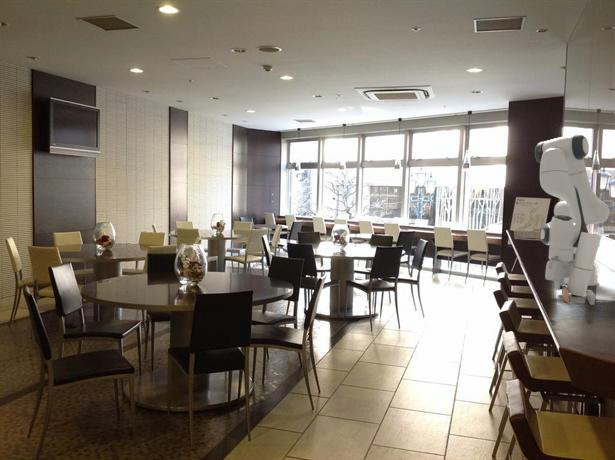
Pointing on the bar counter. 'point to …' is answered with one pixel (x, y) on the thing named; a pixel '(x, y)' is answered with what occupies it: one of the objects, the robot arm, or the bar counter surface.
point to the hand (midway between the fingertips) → (558, 289)
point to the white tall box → (583, 264)
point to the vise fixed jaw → (591, 297)
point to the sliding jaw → (565, 293)
